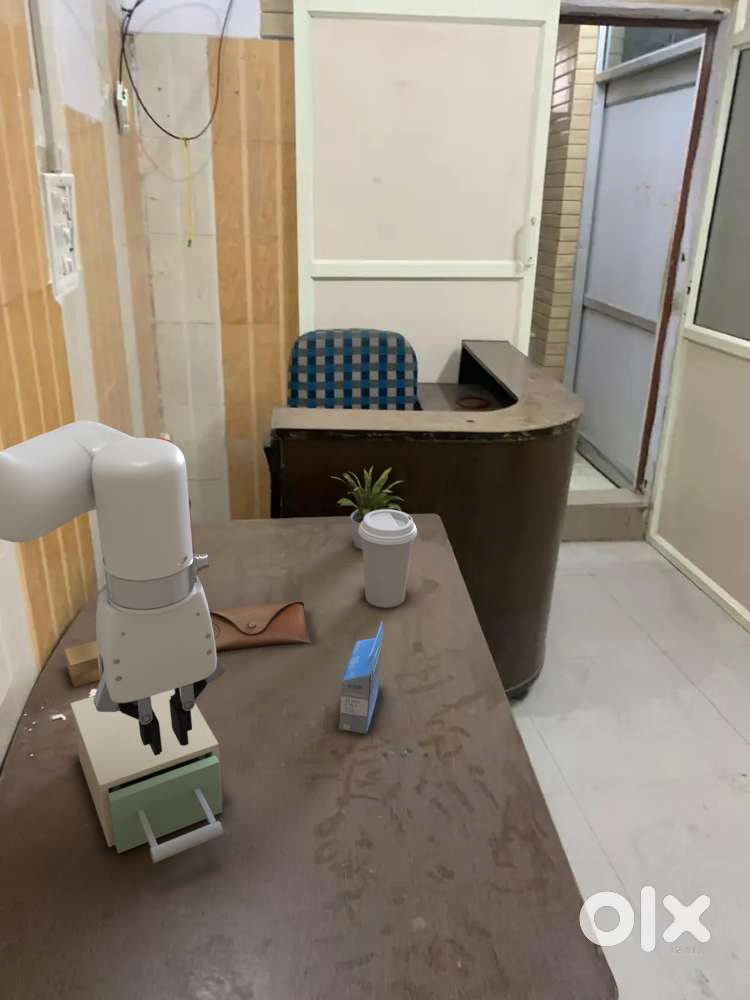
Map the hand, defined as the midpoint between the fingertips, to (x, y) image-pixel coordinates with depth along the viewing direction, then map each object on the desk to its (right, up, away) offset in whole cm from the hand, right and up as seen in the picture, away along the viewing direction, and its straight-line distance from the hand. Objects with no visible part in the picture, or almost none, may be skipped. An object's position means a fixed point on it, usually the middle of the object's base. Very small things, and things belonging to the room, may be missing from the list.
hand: (167, 740), depth 75 cm
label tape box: (+18, -5, +27) cm, 33 cm away
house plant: (+18, +14, +71) cm, 74 cm away
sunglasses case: (+1, +2, +43) cm, 43 cm away
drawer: (-3, -11, +10) cm, 15 cm away
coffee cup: (+22, +7, +54) cm, 59 cm away
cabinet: (-6, -10, +15) cm, 19 cm away
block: (-20, -1, +32) cm, 38 cm away
